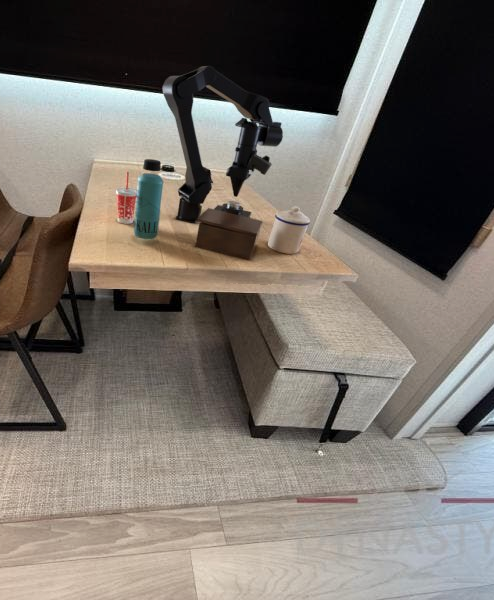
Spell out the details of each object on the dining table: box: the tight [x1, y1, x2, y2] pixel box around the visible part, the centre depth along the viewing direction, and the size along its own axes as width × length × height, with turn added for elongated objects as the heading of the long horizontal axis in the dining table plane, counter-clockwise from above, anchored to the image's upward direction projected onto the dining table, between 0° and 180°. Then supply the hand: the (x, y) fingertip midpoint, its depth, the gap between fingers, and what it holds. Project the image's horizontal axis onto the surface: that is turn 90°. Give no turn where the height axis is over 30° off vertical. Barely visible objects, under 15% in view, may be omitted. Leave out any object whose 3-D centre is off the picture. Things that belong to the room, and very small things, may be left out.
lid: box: [196, 207, 263, 236], centre depth 86 cm, size 15×12×1 cm
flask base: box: [213, 202, 252, 218], centre depth 111 cm, size 12×10×4 cm
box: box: [195, 222, 263, 261], centre depth 88 cm, size 15×12×6 cm
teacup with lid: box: [267, 205, 311, 255], centre depth 91 cm, size 12×9×12 cm
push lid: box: [227, 200, 241, 209], centre depth 109 cm, size 4×4×2 cm
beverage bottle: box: [133, 158, 164, 240], centre depth 81 cm, size 6×7×20 cm
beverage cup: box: [115, 171, 137, 225], centre depth 94 cm, size 6×6×14 cm
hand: (235, 196), depth 108 cm, fingers closed
